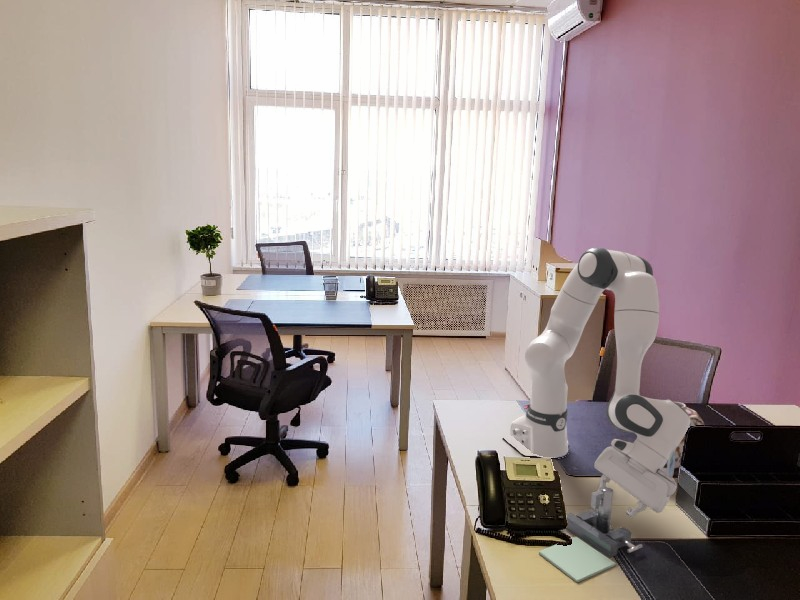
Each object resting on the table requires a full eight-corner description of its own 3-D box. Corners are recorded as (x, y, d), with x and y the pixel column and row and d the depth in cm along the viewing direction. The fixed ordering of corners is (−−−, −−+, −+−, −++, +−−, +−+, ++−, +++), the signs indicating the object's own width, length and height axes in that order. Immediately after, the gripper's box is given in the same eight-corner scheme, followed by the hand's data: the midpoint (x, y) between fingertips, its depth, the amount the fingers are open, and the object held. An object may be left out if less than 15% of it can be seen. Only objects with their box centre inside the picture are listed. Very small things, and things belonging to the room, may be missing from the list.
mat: (538, 553, 144) (538, 551, 144) (575, 538, 150) (575, 536, 150) (577, 582, 134) (577, 580, 134) (615, 565, 140) (615, 563, 140)
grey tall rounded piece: (581, 533, 152) (585, 489, 150) (601, 525, 156) (605, 482, 153) (599, 545, 147) (603, 499, 145) (619, 536, 151) (623, 492, 148)
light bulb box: (668, 488, 174) (671, 453, 172) (642, 482, 178) (646, 447, 175) (674, 473, 183) (677, 439, 181) (650, 467, 186) (653, 434, 184)
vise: (563, 526, 155) (563, 515, 155) (588, 516, 160) (588, 506, 159) (618, 563, 141) (619, 551, 140) (644, 551, 145) (645, 540, 144)
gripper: (685, 486, 150) (653, 533, 150) (619, 443, 167) (590, 485, 166) (675, 478, 147) (642, 526, 146) (608, 435, 163) (579, 478, 163)
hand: (614, 504), depth 156 cm, fingers open, 8 cm apart
